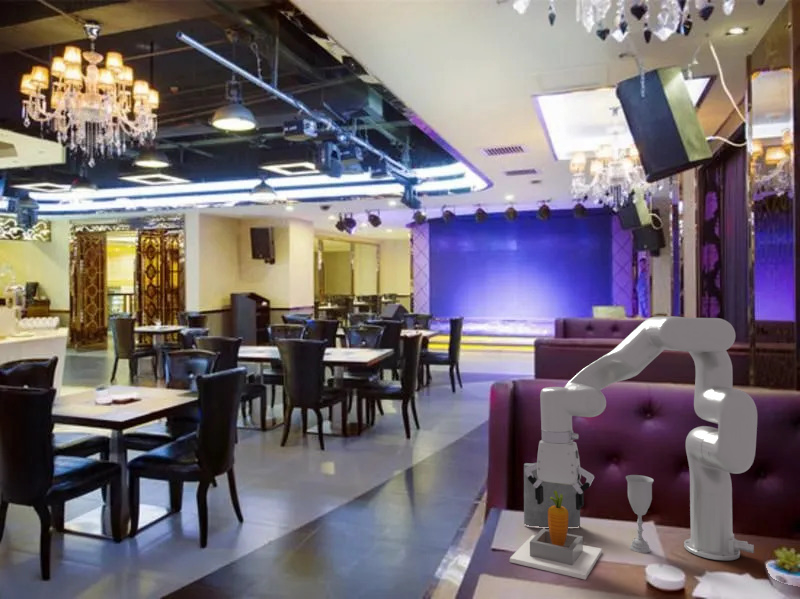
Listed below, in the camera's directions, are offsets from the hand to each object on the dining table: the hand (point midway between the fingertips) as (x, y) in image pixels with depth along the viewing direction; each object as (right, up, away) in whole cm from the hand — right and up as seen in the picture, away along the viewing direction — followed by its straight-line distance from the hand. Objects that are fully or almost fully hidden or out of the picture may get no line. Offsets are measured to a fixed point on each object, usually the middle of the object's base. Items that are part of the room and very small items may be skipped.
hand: (559, 505), depth 142 cm
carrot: (-1, -12, -1) cm, 12 cm away
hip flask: (+4, -14, +21) cm, 25 cm away
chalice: (+22, -13, +5) cm, 27 cm away
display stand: (-1, -13, -1) cm, 13 cm away
